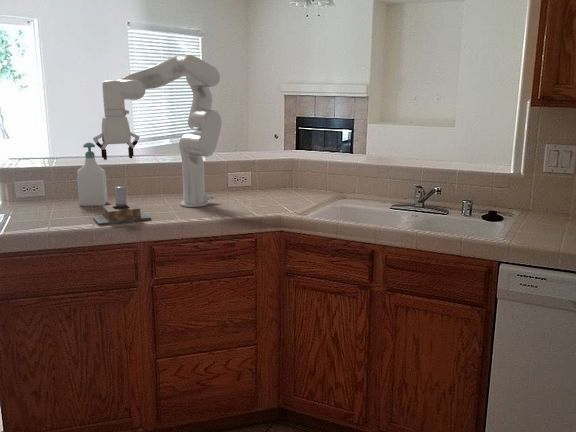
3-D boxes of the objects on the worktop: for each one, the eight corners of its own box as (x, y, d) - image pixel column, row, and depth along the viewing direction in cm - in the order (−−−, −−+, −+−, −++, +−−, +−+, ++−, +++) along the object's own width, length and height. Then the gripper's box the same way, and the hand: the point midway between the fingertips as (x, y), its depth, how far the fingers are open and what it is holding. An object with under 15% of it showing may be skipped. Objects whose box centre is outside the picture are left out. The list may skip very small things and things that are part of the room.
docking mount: (143, 213, 226) (142, 201, 225) (151, 219, 216) (150, 207, 215) (92, 219, 217) (91, 206, 216) (98, 225, 206) (97, 213, 205)
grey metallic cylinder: (125, 215, 219) (124, 185, 216) (128, 217, 215) (126, 187, 213) (115, 216, 217) (113, 186, 214) (118, 218, 214) (116, 188, 211)
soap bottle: (108, 201, 250) (104, 141, 244) (105, 205, 242) (100, 143, 236) (83, 201, 249) (78, 141, 242) (79, 205, 241) (74, 143, 234)
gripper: (135, 112, 214) (138, 156, 218) (89, 113, 206) (92, 159, 210) (140, 113, 208) (143, 158, 212) (92, 114, 200) (96, 161, 204)
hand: (118, 158), depth 211 cm, fingers open, 9 cm apart
